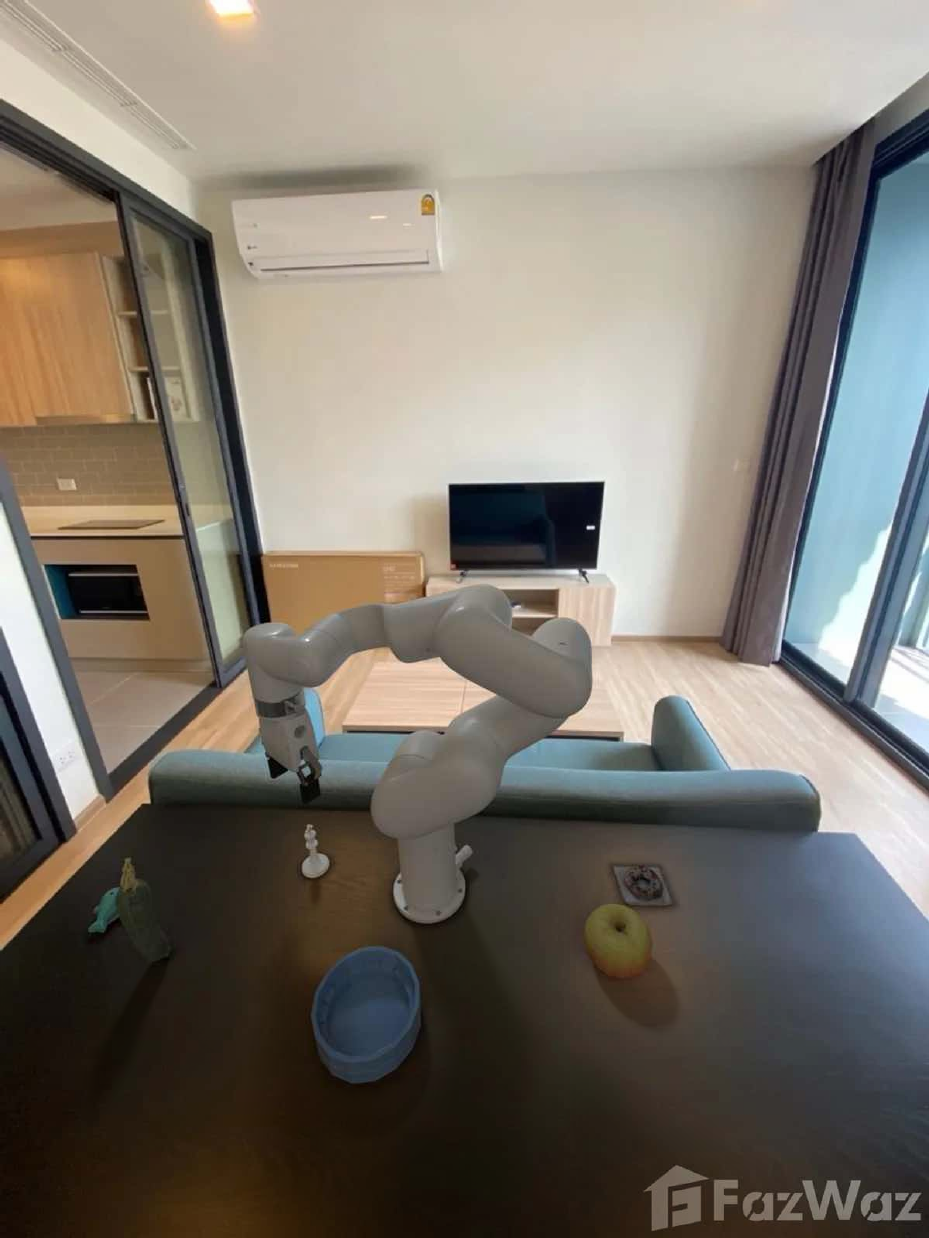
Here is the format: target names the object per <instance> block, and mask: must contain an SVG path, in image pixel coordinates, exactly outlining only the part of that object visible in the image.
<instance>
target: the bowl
mask: <svg viewBox="0 0 929 1238" xmlns="http://www.w3.org/2000/svg"><path fill="white" fill-rule="evenodd" d="M316 988H317V989H316V990H315V993H314V996H313V1001H312V1006H311V1007H312V1008H311V1013H310V1019H311V1025H312V1028H313V1034H314V1039H315V1043H316V1047H317V1053H318V1057H319V1060H320V1061H321V1062H322V1064H323V1065H324V1066H325V1067H326V1069H327V1070H328V1071H329V1073H330V1074H331V1076H333V1077H336V1078H338V1079H340V1080H343V1081H346V1082H348V1083H350V1084H363V1083H373V1082H377V1081H379V1080H380V1079H381V1078H384V1077H385V1076H387V1075H389V1074H390V1073H392V1072H393V1071H395V1070H396V1069H398V1068H399V1066H400V1065H401V1064H402V1063H403V1062H404V1060H405V1059H406V1058H407V1056H408V1055H409V1054H410V1053H411V1051H412V1050H413V1049H414V1047H415V1043H416V1040H417V1038H418V1035H419V1032H420V1029H421V1026H422V999H421V987H420V981H419V978H418V976H417V973H416V971H415V969H414V966H413V964H412V963H411V962H410V961H409V960H408V959H407V958H406V957H405V956H404V955H403V954H402V953H401V952H400V951H397V950H395V949H392V948H388V947H385V946H383V945H377V946H365V947H361V948H359V949H356V950H353V951H352V952H350V953H347V954H346V955H343V956H342V957H341V958H340V959H339V960H338V961H336V962H335V963H334V964H333V965H332V966H331V967H330V968H329V969H328V970H327V971H326V972H325V974H324V976H323V978H322V980H321V981H320V983H319V985H318V986H317V987H316Z"/></svg>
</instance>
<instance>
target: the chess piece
mask: <svg viewBox="0 0 929 1238" xmlns="http://www.w3.org/2000/svg"><path fill="white" fill-rule="evenodd" d="M313 828H314V825H313V824H307V825H306V829H305V831H304V835H303V836H304V839H305V840H306V843H305V848H306V849H308V850H309V856H307V858H305V860H304V861H303V863H302V865H301V873H302V874H303V876H304V877H306V878H309V879H315V878H317V877H318V878H319V877H321V876H322V875H324V874H325V873H326V872H327V871H328V869H329V867H330V860H329V858H328V856H327V855H326V854H323V853H318V850H317V848H316V847H318V846H319V845H318V844H319V841H318V840H317V839H315V838H316V835H317V832H316V830H314V829H313Z"/></svg>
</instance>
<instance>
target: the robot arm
mask: <svg viewBox="0 0 929 1238" xmlns="http://www.w3.org/2000/svg"><path fill="white" fill-rule="evenodd" d="M513 616H514V615H513V607H512V604H511V602H510V599H509V598H508V596H507V594H506V593H505V592H504V591H503V590H502V589H500V588H499V587H497V586H495V585H492V584H487V583H477V584H472V585H468V586H463V587H460V588H455V589H452V590H447V591H443V592H440V593H435V594H432V595H428V596H424V597H420V598H415V599H411V600H408V601H404V602H399V603H394V604H393V603H369V604H368V603H366V604H362V605H358V606H354V607H350V608H346V609H342V610H339V611H336V612H332V613H329V614H327V615H324V616H323V617H321V618H320V619H318V620H317V621H316V622H314V623H313V624H312V625H310V626H309V627H308V628H306V629H305V630H304V631H303V632H301V633H297V634H296V633H295V630H294V629H293V628H292V627H291V625H289V624H287V623H284V622H273V621H272V622H264V623H260V624H256V625H254V626H251V627H250V628H248V629H247V630H246V631H245V632H244V634H243V635H242V639H241V642H242V643H241V644H242V649H243V654H244V660H245V664H246V670H247V674H248V675H247V676H248V679H249V686H250V689H251V694H252V699H253V704H254V708H255V710H254V711H255V714H256V717H258V723H259V727H258V728H257V730H258V733H259V735H260V738H261V745H262V746H263V749H264V755H265V757H266V759H267V760H266V761H267V766H268V771H269V776H270V778H271V779H273V780H275V779H277V778H278V777H280V776H282V775H285V773H288V772H289V771H290V772H292V773H295V774H296V776H297V778H298V780H299V781H300V783H299V784H298V787H299V791H300V797H301V803H302V804H303V805H304V806H306V805H308V804H309V803H311V802H313V801H314V800H316V799H317V798H319V797H321V796H322V795H321V794H322V791H321V785H320V778H321V777H322V772H323V766H322V764H321V762H320V753H319V752H320V751H319V747H318V742H317V737H316V733H315V729H314V725H313V722H312V720H311V719H312V718H311V716H310V713H309V711H308V709H307V708H306V706H307V701H306V696H305V689H304V688H306V689H307V688H308V689H310V688H311V689H313V688H318V687H320V686H322V685H324V684H325V683H326V682H327V681H328V680H330V678H331V677H332V676H333V675H334V674H335V673H336V672H337V671H338V670H339V668H340V667H342V665H343V664H344V663H345V662H346V661H347V660H348V659H349V658H350V657H351V656H352V655H354V654H358V653H361V652H365V651H370V650H374V649H380V648H389V649H390V651H391V653H392V655H393V656H394V658H396V659H397V660H398V661H400V662H401V663H404V664H415V663H419V662H425V661H428V660H431V659H438V658H439V659H440V660H441V662H443V664H445V665H446V666H447V667H448V668H449V669H450V670H451V671H453V672H454V673H456V674H458V675H459V676H460V677H462V678H464V679H466V680H467V681H469V682H471V683H473V684H475V685H476V686H479V687H480V688H482V689H485V690H487V691H488V692H491V693H493V694H495V695H494V696H492V697H490V698H488V699H485V700H484V701H482V702H481V703H479V704H477V705H475V706H473V707H471V708H468V709H467V710H466V711H465V710H464V711H463V712H461V713H460V714H457V716H455V717H454V718H453V719H452V720H451V721H450V723H449V724H448V725H447V727H446V729H445V731H444V734H443V735H442V734H441V733H439V732H437V731H434V730H429V729H420V730H416V731H413V732H412V733H410V734H409V735H407V736H406V737H405V738H403V740H402V741H401V742H400V744H398V746H397V748H396V749H395V751H394V753H393V755H392V757H391V759H390V760H389V762H388V764H387V766H386V768H385V770H384V772H383V774H382V775H381V777H380V779H379V781H378V783H377V785H376V787H375V789H374V791H373V793H372V796H371V800H370V801H371V802H370V815H371V819H372V822H373V824H374V825H375V827H376V828H377V830H379V831H380V832H381V833H382V834H384V835H385V836H387V837H389V838H391V839H397V851H398V859H399V869H400V870H399V871H400V872H398V875H397V876H396V878H395V880H394V883H393V889H392V890H393V892H392V893H393V900H394V905H395V906H396V908H397V910H398V911H399V913H400V914H402V915H403V916H404V917H405V918H406V919H408V920H410V921H412V922H415V923H419V924H434V923H439V922H442V921H444V920H446V919H448V918H449V917H451V916H452V915H453V914H454V913H456V912H457V911H458V910H459V908H460V907H461V905H462V904H463V901H464V899H465V895H466V880H465V877H464V875H463V872H462V871H461V868H462V867H463V863H464V862H465V861H467V859H468V858H469V857H471V856H472V855H473V853H474V852H473V848H472V847H471V846H469V845H468V844H465V845H464V846H463V847H461V849H460V850H458V847H457V845H456V835H455V833H456V832H455V824H457V823H459V822H461V821H464V820H466V819H468V818H470V817H473V816H475V815H477V814H478V813H480V812H481V811H483V810H485V809H486V807H488V806H489V805H490V804H491V802H492V801H493V800H494V799H495V797H496V795H497V794H498V792H499V789H500V786H501V783H502V779H503V776H504V775H503V774H504V770H505V766H506V764H507V762H508V761H509V760H510V759H511V758H512V757H513V756H515V755H517V754H518V753H520V752H522V751H524V750H525V749H527V748H530V747H531V746H532V745H535V744H536V743H538V742H540V741H541V740H542V741H543V740H544V739H546V738H547V737H548V736H550V735H551V734H553V733H554V732H556V730H558V729H559V728H560V727H561V726H562V725H563V724H564V723H565V722H566V721H568V719H569V718H570V717H572V716H575V715H576V714H578V713H580V711H581V710H583V709H584V707H585V706H586V705H587V703H588V702H589V700H590V698H591V696H592V691H593V678H594V677H593V653H592V652H593V649H592V648H593V647H592V641H591V638H590V635H589V633H588V632H587V631H588V630H586V628H585V627H584V626H583V625H582V624H581V623H580V622H579V621H577V620H575V619H574V618H570V617H567V616H566V617H564V616H561V617H555V618H551V619H549V620H547V621H546V622H544V623H542V624H541V625H540V626H539V627H538V628H537V629H535V630H534V632H533V634H532V635H531V637H528V636H527V635H525V634H522V633H520V632H519V631H517V630H515V629H513V628H512V627H513ZM302 761H304V763H303V764H301V763H302ZM305 768H308V769H309V772H310V773H309V774H307V775H305V774H304V772H303V770H304V769H305ZM457 850H458V852H457V853H456V851H457Z"/></svg>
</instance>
